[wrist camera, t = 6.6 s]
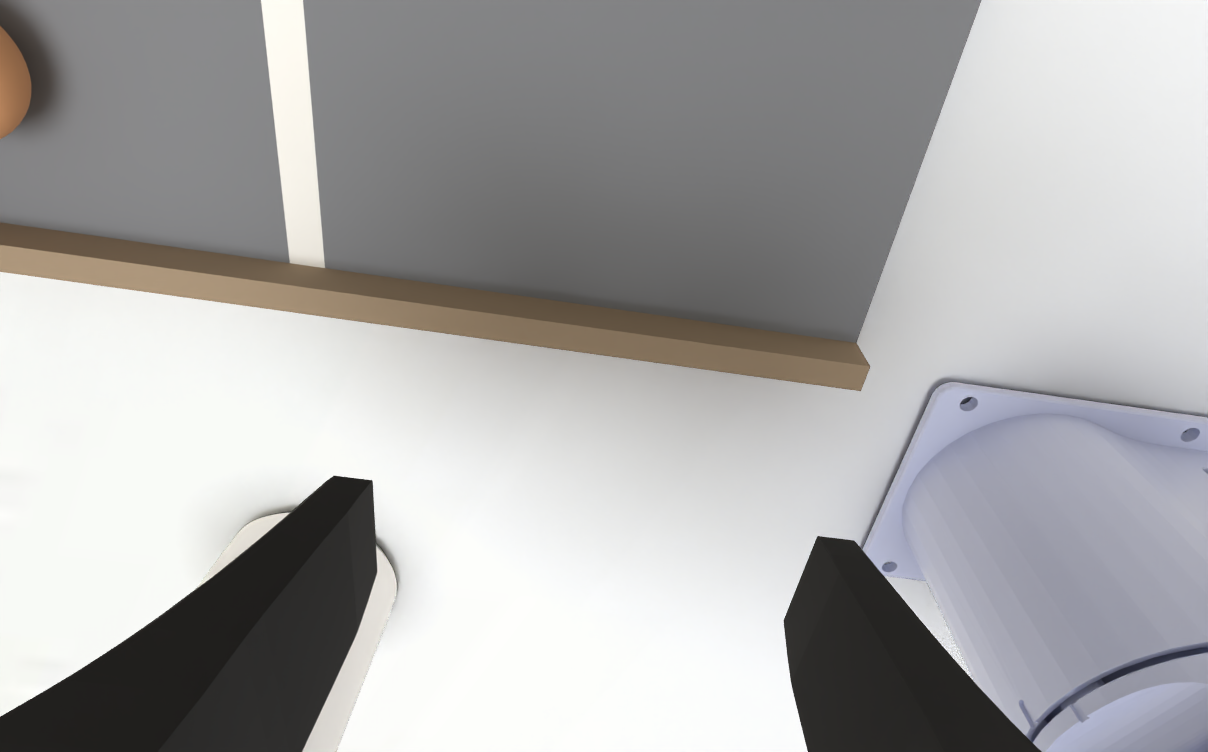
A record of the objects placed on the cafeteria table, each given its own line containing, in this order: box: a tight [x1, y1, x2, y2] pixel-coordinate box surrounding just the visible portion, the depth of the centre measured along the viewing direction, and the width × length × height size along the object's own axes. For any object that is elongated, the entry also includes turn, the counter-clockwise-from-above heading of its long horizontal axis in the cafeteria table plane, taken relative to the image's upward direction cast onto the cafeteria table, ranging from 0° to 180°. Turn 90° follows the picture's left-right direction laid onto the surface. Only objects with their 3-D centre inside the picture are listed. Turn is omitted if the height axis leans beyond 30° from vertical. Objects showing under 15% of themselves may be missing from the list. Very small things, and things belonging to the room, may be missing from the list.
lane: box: [0, 0, 981, 391], centre depth 16 cm, size 27×12×2 cm, turn 82°
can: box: [196, 512, 397, 752], centre depth 21 cm, size 6×6×12 cm
